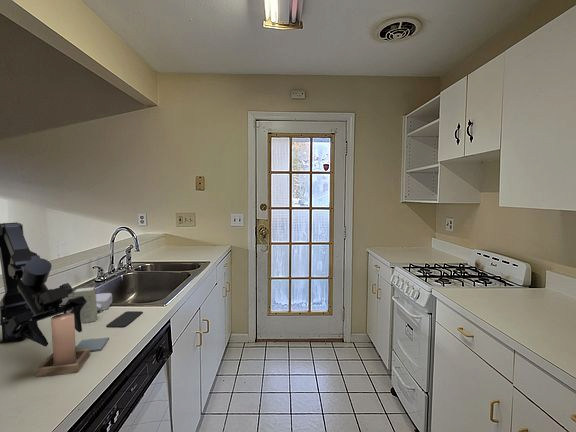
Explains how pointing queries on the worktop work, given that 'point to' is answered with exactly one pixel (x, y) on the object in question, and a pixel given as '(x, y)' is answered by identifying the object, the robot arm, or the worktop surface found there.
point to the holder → (49, 370)
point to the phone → (124, 319)
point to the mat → (92, 344)
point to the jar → (63, 339)
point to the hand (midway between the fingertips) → (64, 338)
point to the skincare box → (87, 304)
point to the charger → (103, 301)
